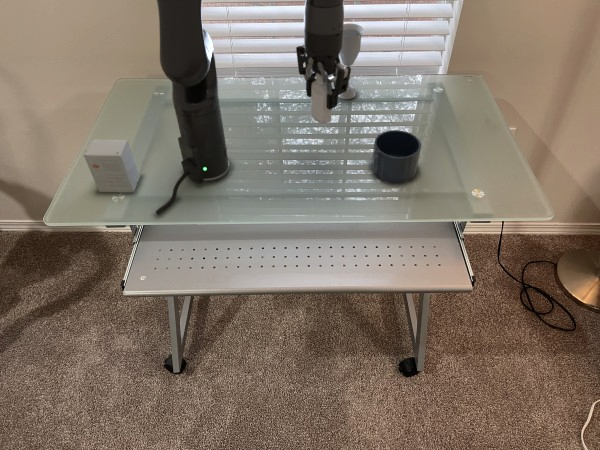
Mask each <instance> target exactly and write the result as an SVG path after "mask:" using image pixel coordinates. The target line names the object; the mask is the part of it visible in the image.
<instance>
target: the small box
mask: <svg viewBox="0 0 600 450" xmlns="http://www.w3.org/2000/svg"><path fill="white" fill-rule="evenodd" d="M129 142H130V141H129V139H92V140H91V141H90V144H89V145H88V147H87V149H86V151H84V152H85V153H83V157H84V159H85V161H86V164H87V166H88V169H89V171H90V174H91V176H92V178H93V181H94V183H95V185H96V188H97V190H98V192H99V193H135V191H136V187H137V186H138V183H139V180H140V178H141V175H140V172H139V171H140V170H139V168H138V165H137V162H136V160H135V157H134V154H133V151H132V148H131V146H130V143H129Z"/></svg>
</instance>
